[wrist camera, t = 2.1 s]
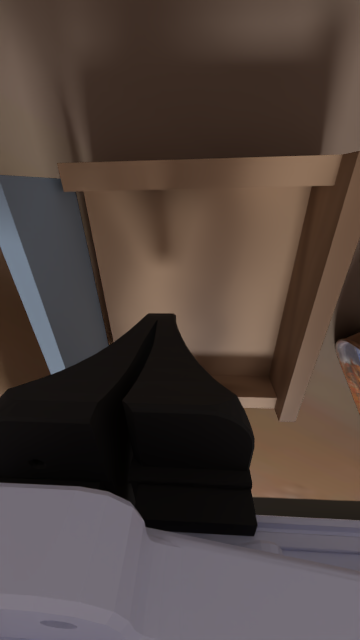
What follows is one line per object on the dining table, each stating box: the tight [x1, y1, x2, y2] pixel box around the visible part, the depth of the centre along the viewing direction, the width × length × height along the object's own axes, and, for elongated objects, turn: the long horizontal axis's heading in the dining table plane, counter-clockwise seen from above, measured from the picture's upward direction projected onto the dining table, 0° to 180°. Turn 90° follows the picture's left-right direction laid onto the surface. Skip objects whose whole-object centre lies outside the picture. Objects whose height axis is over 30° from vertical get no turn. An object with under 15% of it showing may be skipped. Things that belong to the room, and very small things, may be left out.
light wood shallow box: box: [57, 151, 360, 422], centre depth 14 cm, size 12×14×5 cm
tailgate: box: [0, 175, 109, 374], centre depth 12 cm, size 1×13×5 cm, turn 1°
